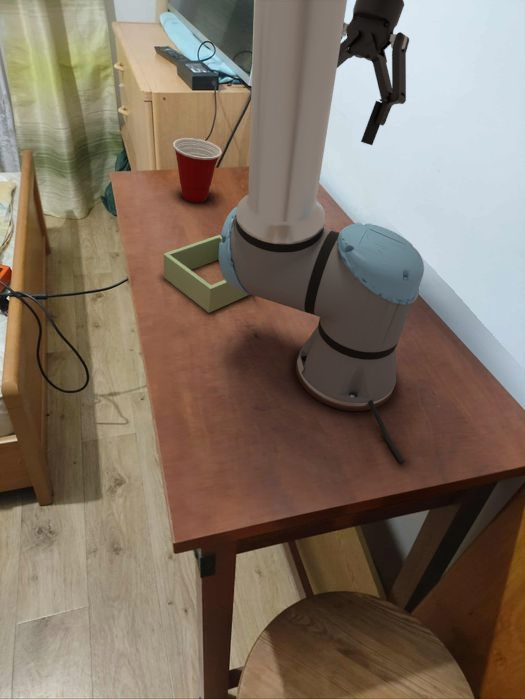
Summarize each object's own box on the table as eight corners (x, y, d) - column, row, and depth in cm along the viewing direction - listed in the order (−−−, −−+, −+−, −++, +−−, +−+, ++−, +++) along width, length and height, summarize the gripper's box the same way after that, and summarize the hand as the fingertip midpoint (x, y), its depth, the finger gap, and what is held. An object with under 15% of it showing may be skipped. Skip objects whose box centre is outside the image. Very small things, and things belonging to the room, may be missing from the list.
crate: (263, 288, 95) (266, 265, 91) (208, 313, 87) (210, 288, 84) (218, 257, 101) (219, 234, 98) (163, 277, 94) (163, 253, 90)
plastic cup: (216, 210, 116) (219, 158, 108) (168, 204, 116) (168, 151, 108) (220, 190, 124) (224, 140, 117) (176, 184, 124) (177, 134, 116)
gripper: (462, 14, 77) (404, 156, 86) (334, -10, 90) (295, 116, 99) (444, -4, 71) (383, 150, 81) (310, -27, 84) (271, 109, 93)
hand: (335, 132), depth 90 cm, fingers open, 13 cm apart
